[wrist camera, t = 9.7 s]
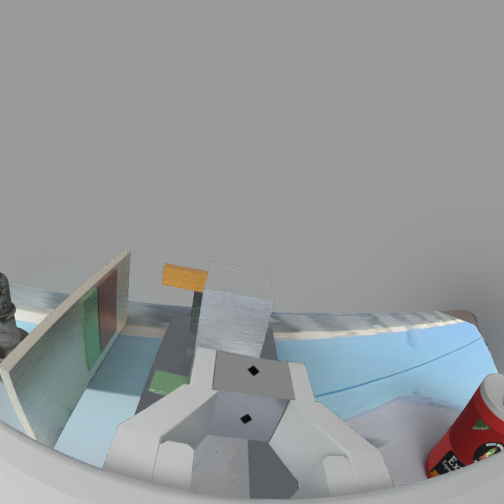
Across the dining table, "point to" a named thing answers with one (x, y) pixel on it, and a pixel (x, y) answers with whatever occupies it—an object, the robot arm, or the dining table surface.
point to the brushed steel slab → (228, 305)
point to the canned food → (472, 430)
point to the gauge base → (158, 386)
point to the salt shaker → (8, 322)
